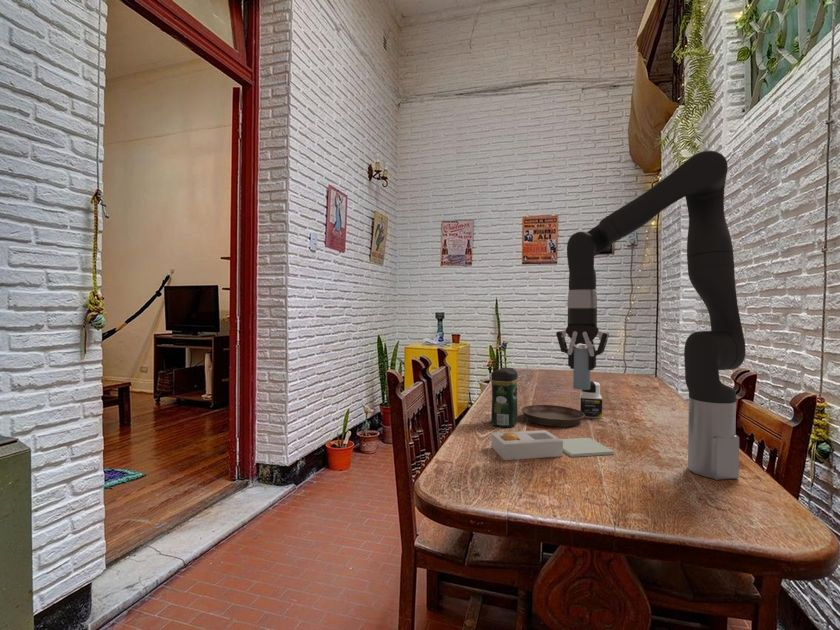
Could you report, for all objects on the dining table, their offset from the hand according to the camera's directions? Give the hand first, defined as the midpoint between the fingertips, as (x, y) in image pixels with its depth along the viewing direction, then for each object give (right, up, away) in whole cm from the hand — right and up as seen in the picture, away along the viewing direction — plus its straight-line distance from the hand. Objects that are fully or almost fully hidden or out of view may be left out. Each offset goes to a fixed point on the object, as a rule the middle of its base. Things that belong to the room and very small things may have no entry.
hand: (581, 368), depth 120 cm
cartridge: (0, -5, 0) cm, 5 cm away
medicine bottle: (+16, -21, +36) cm, 45 cm away
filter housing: (-16, -22, -2) cm, 27 cm away
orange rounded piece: (-20, -20, -3) cm, 29 cm away
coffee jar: (-16, -21, +25) cm, 37 cm away
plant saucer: (+1, -22, +30) cm, 37 cm away
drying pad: (0, -22, +1) cm, 22 cm away
